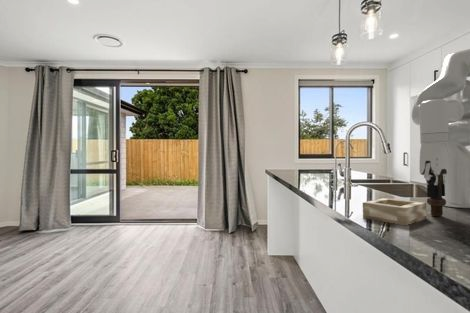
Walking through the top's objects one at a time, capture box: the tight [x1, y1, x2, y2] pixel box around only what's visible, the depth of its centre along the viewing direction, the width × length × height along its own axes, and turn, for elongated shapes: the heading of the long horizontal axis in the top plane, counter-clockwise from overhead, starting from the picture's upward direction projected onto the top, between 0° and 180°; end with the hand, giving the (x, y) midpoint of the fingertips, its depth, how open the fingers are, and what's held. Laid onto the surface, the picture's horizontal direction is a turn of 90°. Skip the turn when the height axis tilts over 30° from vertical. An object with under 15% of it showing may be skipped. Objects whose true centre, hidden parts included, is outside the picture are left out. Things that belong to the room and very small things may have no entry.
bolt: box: [426, 169, 447, 217], centre depth 91 cm, size 6×5×15 cm
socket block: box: [362, 197, 428, 227], centre depth 90 cm, size 13×13×5 cm
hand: (436, 196), depth 91 cm, fingers closed on bolt, 3 cm apart
